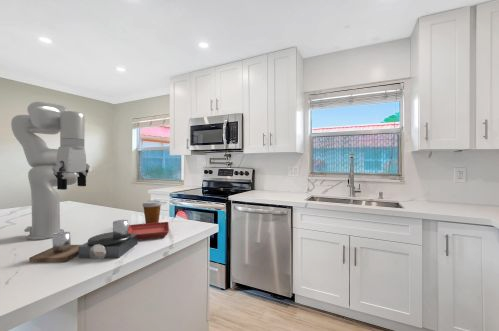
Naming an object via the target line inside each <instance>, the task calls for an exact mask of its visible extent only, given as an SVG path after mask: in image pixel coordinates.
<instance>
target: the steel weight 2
mask: <svg viewBox="0 0 499 331" xmlns="http://www.w3.org/2000/svg"><path fill="white" fill-rule="evenodd" d="M128 227H129V219H119V220H118V219H117V220H114V221H112V232H113V239H124V238H127V237H128Z"/></svg>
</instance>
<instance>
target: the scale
mask: <svg viewBox="0 0 499 331" xmlns="http://www.w3.org/2000/svg"><path fill="white" fill-rule="evenodd" d="M138 242H139V240H138V234H130V233H128V237H127V238H124V239H113V231H111V232H105V233H101V234H96V235H93V236H92V237H89V238H88V239H87V242H85V243H83V244H80V245H81V246H79V247H78V255H77V257H78V259H92V260H103V259H119V258H121V257H122V256H124V255H125V254H126V253H128V252H130V251H131V250H132V248H134V247H135V246H137V245H138Z"/></svg>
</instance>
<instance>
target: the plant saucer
mask: <svg viewBox="0 0 499 331" xmlns="http://www.w3.org/2000/svg"><path fill="white" fill-rule="evenodd" d="M169 226H170V224H169V221H163V222H162V221H160V222H159V223H147V224H146V223H138V224H130V225H129V224H128V233H130V234H138V241H139V240H148V239H149V240H150V239H159V237H160V238H164V237H165V238H166V236H167V235H168V234H169V232H170V227H169Z"/></svg>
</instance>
